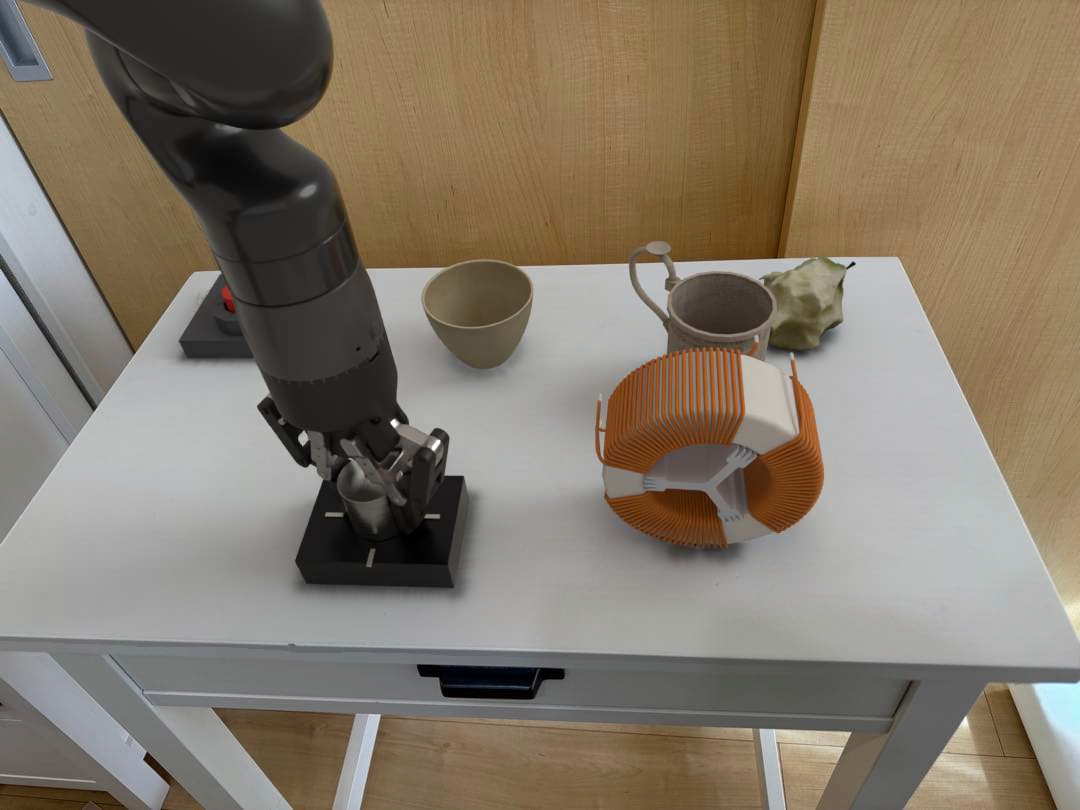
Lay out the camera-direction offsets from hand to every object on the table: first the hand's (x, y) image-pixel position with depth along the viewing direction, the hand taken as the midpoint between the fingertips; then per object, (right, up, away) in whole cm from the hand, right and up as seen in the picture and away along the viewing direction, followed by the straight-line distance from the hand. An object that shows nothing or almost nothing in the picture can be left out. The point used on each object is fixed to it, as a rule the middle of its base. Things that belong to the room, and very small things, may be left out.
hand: (383, 512), depth 56 cm
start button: (-17, +18, +19) cm, 31 cm away
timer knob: (0, 0, 0) cm, 0 cm away
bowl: (+6, +13, +17) cm, 22 cm away
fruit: (+35, +15, +17) cm, 42 cm away
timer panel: (0, -2, +2) cm, 3 cm away
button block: (-18, +16, +23) cm, 33 cm away
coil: (+23, 0, +2) cm, 23 cm away
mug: (+25, +10, +13) cm, 30 cm away
